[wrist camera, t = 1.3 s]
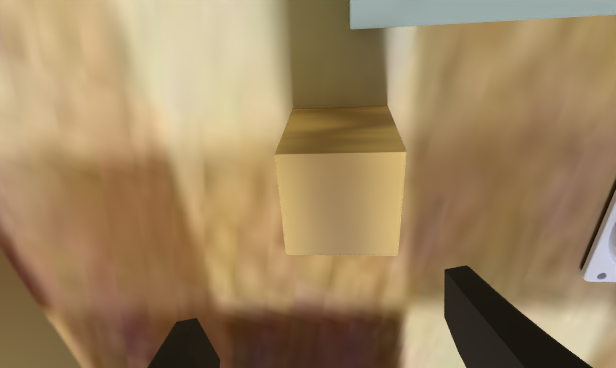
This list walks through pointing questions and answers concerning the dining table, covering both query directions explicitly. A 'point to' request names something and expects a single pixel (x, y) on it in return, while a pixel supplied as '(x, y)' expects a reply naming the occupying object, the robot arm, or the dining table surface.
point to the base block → (467, 11)
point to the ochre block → (341, 181)
